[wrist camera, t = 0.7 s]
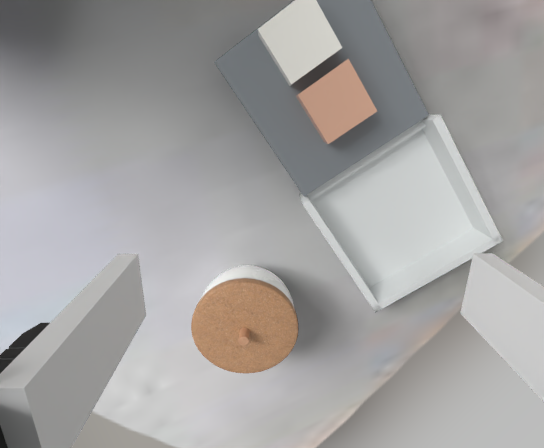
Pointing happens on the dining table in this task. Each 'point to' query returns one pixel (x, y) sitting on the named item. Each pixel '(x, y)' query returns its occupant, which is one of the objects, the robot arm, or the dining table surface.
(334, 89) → the tile
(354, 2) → the board
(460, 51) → the dining table surface
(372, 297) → the tray
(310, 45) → the tile
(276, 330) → the lidded jar
